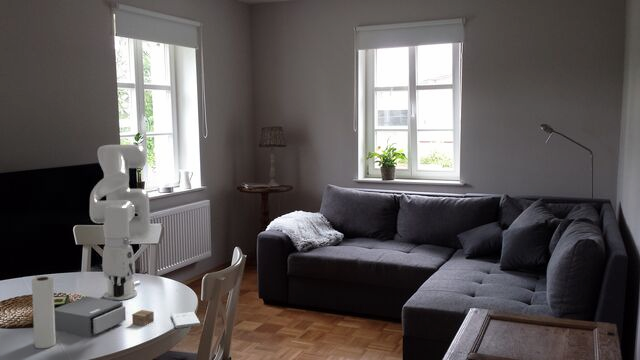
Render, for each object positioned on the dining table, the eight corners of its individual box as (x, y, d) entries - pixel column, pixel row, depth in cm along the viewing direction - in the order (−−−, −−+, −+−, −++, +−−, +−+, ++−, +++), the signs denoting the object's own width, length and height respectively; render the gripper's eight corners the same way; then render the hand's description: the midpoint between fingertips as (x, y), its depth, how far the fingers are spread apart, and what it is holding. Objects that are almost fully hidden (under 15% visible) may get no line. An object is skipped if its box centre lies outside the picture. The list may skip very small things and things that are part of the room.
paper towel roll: (53, 348, 182) (50, 280, 180) (32, 349, 181) (29, 281, 179) (58, 339, 189) (56, 274, 187) (38, 340, 188) (35, 275, 186)
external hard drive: (176, 330, 200) (171, 318, 212) (200, 327, 203) (194, 315, 215) (176, 325, 200) (171, 313, 212) (200, 322, 203) (194, 311, 215)
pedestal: (142, 319, 208) (141, 309, 208) (153, 321, 207) (153, 311, 206) (132, 324, 204) (132, 314, 204) (144, 326, 202) (144, 316, 202)
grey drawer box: (87, 315, 212) (86, 295, 211) (123, 321, 206) (122, 301, 205) (51, 330, 197) (51, 309, 197) (89, 337, 191) (88, 315, 191)
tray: (87, 313, 211) (87, 300, 210) (125, 320, 204) (125, 306, 204) (56, 326, 198) (56, 312, 197) (96, 333, 191) (95, 319, 191)
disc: (109, 319, 203) (109, 314, 203) (95, 326, 196) (95, 321, 196) (93, 317, 205) (92, 312, 205) (78, 323, 199) (78, 318, 198)
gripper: (143, 241, 195) (144, 295, 197) (107, 237, 200) (108, 289, 203) (128, 246, 188) (129, 302, 190) (91, 241, 194) (93, 296, 196)
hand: (118, 295), depth 197 cm, fingers closed
